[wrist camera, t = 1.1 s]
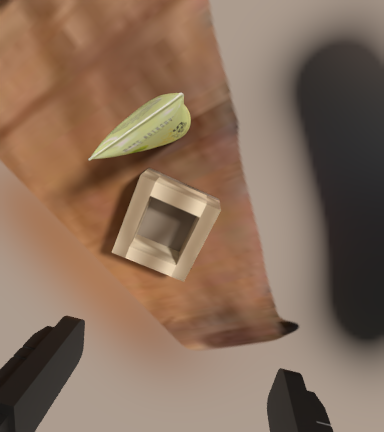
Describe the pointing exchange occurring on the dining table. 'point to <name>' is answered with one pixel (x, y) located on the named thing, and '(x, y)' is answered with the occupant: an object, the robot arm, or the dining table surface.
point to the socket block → (166, 224)
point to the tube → (147, 127)
